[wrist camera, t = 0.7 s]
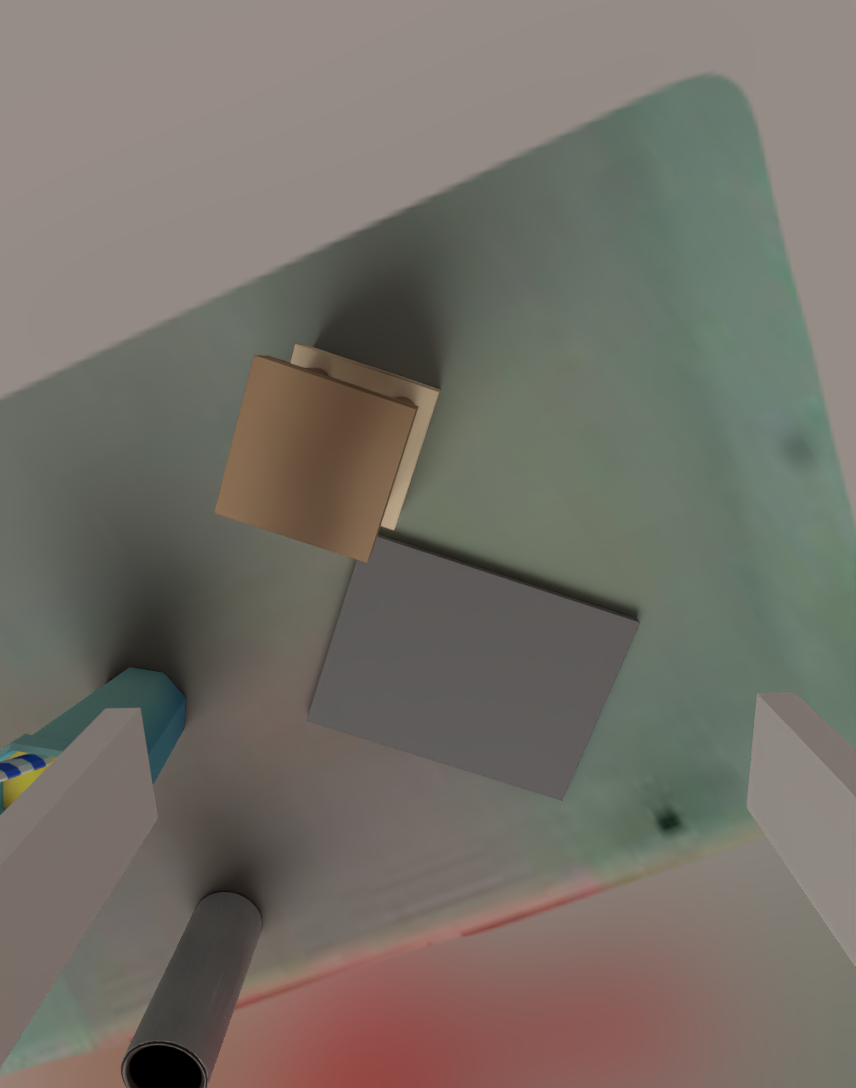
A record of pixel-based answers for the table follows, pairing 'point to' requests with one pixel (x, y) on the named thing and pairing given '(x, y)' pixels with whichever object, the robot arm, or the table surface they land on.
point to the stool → (314, 457)
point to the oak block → (387, 386)
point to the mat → (469, 667)
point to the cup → (152, 691)
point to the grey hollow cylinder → (195, 997)
